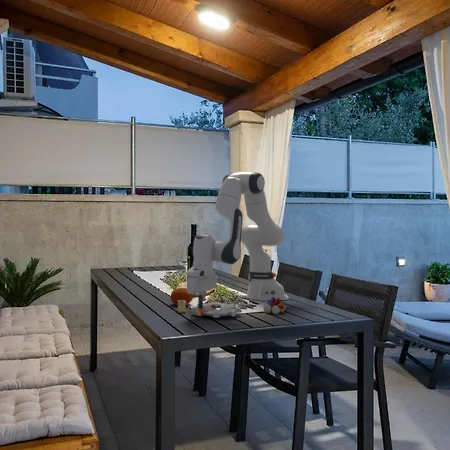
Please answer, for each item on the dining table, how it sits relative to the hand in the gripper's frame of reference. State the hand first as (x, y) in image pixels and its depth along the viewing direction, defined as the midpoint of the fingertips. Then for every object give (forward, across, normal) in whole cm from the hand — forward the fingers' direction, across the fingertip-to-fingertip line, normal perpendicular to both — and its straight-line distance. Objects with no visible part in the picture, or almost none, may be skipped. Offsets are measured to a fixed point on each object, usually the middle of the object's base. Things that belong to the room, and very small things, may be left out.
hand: (202, 301), depth 215 cm
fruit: (+6, -10, -19) cm, 22 cm away
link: (+6, +1, -10) cm, 12 cm away
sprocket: (+4, 0, +7) cm, 8 cm away
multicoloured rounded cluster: (+6, -20, +26) cm, 34 cm away
